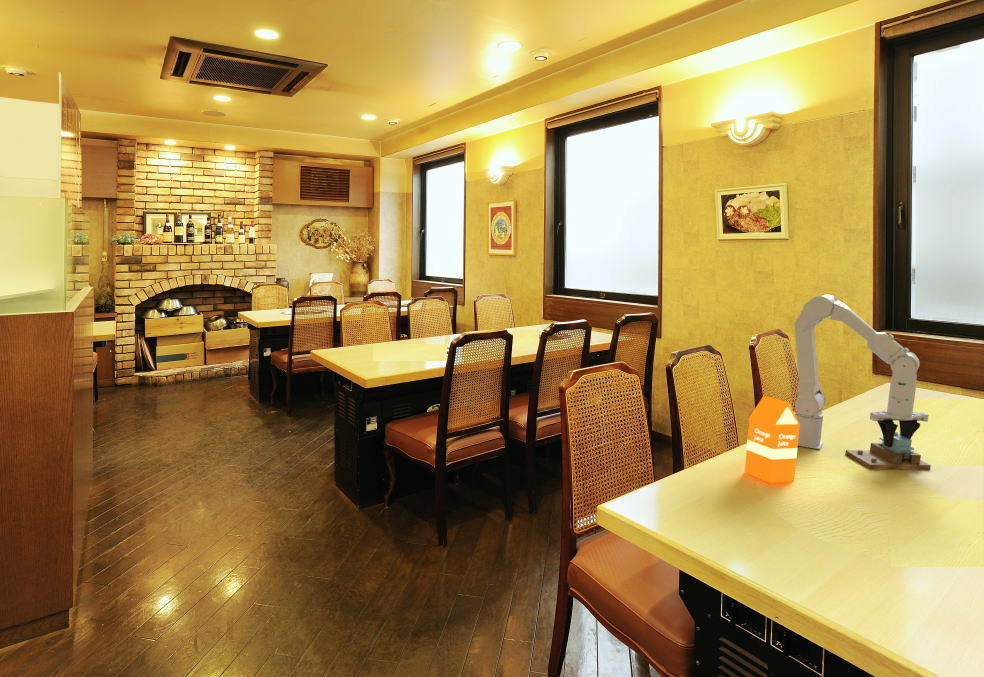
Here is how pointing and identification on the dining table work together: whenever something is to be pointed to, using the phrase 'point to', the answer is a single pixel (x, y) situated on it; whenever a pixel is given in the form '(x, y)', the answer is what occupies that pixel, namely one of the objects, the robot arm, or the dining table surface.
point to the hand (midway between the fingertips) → (895, 446)
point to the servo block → (899, 445)
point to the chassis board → (886, 458)
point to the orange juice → (772, 441)
